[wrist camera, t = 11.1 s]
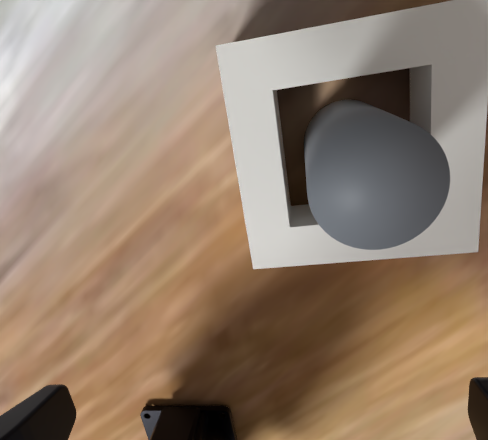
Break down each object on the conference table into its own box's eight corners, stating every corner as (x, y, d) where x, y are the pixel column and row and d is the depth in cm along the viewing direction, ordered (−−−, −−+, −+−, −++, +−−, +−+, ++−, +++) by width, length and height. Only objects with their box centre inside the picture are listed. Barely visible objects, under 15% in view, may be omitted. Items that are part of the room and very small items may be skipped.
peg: (388, 176, 19) (448, 243, 11) (307, 185, 19) (313, 255, 12) (386, 93, 17) (452, 106, 10) (299, 106, 18) (299, 129, 11)
